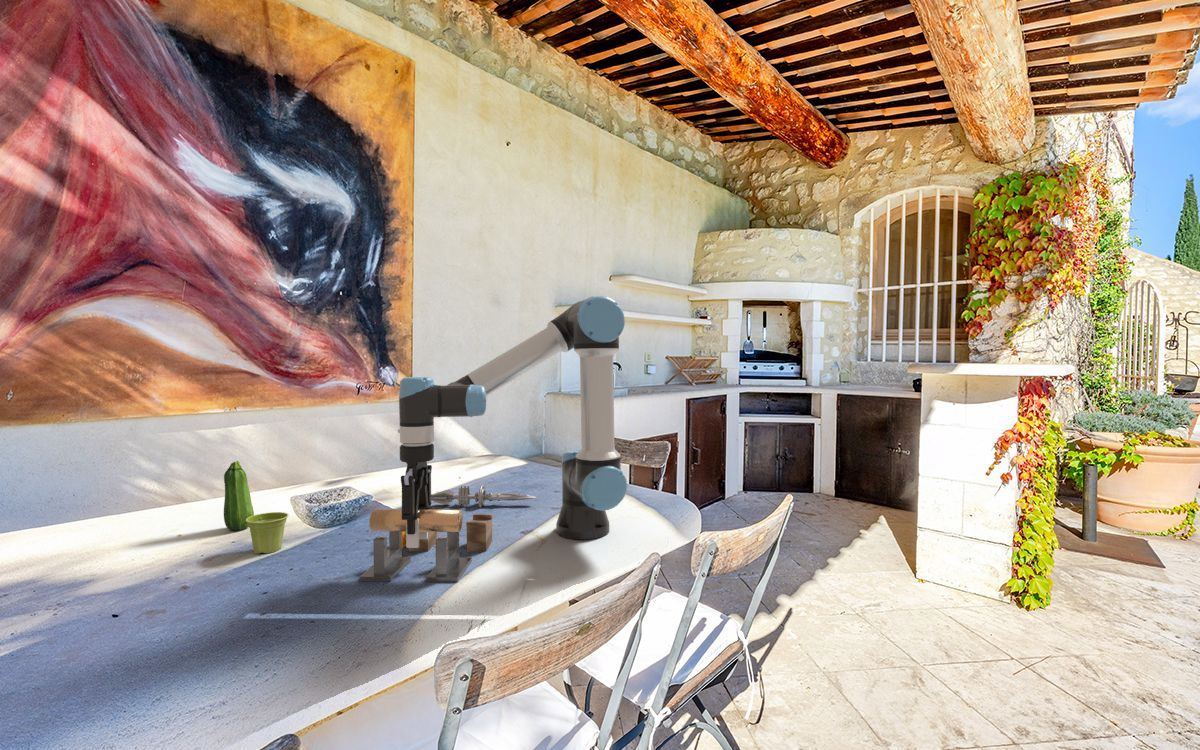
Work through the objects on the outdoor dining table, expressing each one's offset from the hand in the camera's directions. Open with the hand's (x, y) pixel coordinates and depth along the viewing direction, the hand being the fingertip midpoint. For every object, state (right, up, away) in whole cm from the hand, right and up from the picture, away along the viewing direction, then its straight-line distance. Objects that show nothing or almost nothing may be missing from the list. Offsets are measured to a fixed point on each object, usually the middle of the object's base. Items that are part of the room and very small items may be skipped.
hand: (417, 542), depth 124 cm
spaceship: (+4, -5, +52) cm, 53 cm away
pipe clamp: (-10, -6, +21) cm, 24 cm away
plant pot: (-44, -7, +14) cm, 46 cm away
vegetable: (-62, -6, +31) cm, 70 cm away
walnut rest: (+3, -6, +16) cm, 18 cm away
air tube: (0, +5, 0) cm, 5 cm away
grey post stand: (0, -7, 0) cm, 7 cm away
